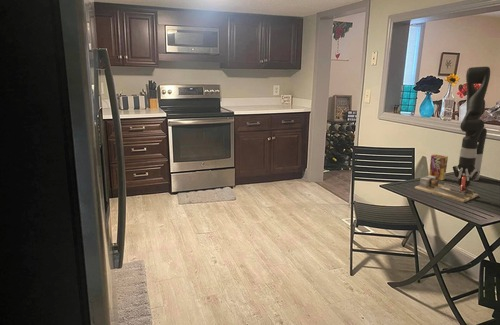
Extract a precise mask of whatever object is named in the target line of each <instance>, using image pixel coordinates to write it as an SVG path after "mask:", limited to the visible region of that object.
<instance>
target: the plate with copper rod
mask: <svg viewBox="0 0 500 325" xmlns="http://www.w3.org/2000/svg"><path fill="white" fill-rule="evenodd" d="M466 181H467V177H466V175H462V178H461V185H455V186H456V187H454V188H451V189H450V190H452V191H455V192H459V193H463V194H465V195H466V194H468V189H469V188H468V187H466Z"/></svg>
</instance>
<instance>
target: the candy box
mask: <svg viewBox="0 0 500 325" xmlns="http://www.w3.org/2000/svg"><path fill="white" fill-rule="evenodd" d="M448 158H449V156H447V155H442V154H435V153H434V154H431V156H430V166H429V173H428V176H429V175H431V176H435V177H436V180H438V181H443V180H444V181H445V180H446V175H447V174H446V173H447V167H448Z"/></svg>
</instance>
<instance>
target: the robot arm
mask: <svg viewBox="0 0 500 325" xmlns="http://www.w3.org/2000/svg"><path fill="white" fill-rule="evenodd" d="M490 79H491V68H490V66H474V67H473V66H472V67H469V68H467V70H466V75H465V80H466V81H465V82H466V108H465V109H466V111H465V115H464V117H463V119H462V120H461V122H460V125H459V126H460V127H459V128H460V130H461V131H462V132H465V136H463V138H462V141H461V148H460V151H459V158H458V159H459V160H458V165H454V166H452V171H453V173H454V177H456V178H458V180H457V183H458V186H461V178H462V175H466V177H467V181H466V187H467V188H469V187H470V186H471V182H472V181H479V180H480V175H481V169H482V163H483V162H482V161H483V155H484V148H485V144H486V143H485V142H486V139H487V133H488V131H487V128H486V127H485V121H484V120H483V119H481V117H482V116H483V115H484V113H485V112H486V100H485V97H486V94H487V91H488V87H489V83H490ZM475 85H480V87H479V88H478V89H476V87H475Z"/></svg>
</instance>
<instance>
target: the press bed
mask: <svg viewBox="0 0 500 325" xmlns="http://www.w3.org/2000/svg"><path fill="white" fill-rule="evenodd" d="M431 180H437V179H436V177H435V176H431V175H429V174H428V175H425V176H423V177H420V179H419V185H417V186H414V189H415V190H418V191H421V192H425V193H427V194H431V193H432V195H435V196H440V197H442V198H445V197H446V198H445V199H449V200H453V201H455V202H456V201H457V202H459V203H466V202H468V201H471V200H473V199H474V198H477V197H478V196H479V193H474V190H473V189H469V188H467V189H468V194H466V195H465V194H463V193H459V192H455V191H452V190H450V189H451V188H454V187H456V186H457V185H454V184H450V183H446V182H444V183H443V184H440V183H438V187H437V186H435V188H431V187H430V185H431Z"/></svg>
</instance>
